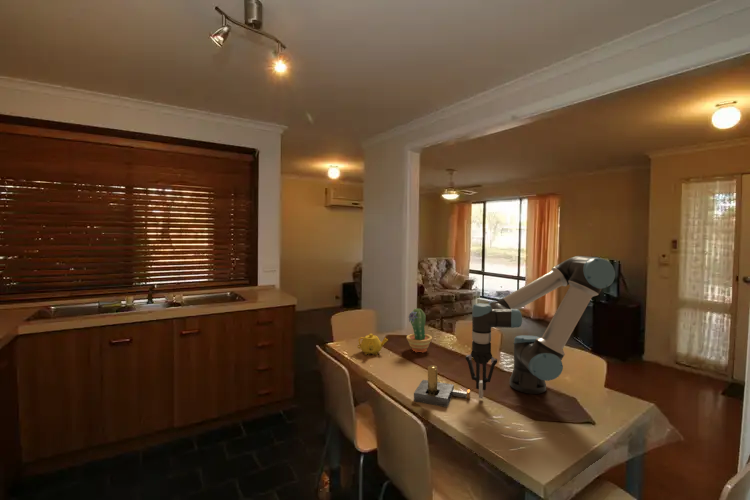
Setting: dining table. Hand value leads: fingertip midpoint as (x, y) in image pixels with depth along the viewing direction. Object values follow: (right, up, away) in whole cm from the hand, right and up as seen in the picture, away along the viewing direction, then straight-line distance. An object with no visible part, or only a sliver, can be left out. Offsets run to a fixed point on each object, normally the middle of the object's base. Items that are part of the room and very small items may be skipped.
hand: (480, 396), depth 145 cm
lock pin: (-10, -1, +5) cm, 11 cm away
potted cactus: (-18, +1, +63) cm, 65 cm away
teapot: (-46, +1, +59) cm, 74 cm away
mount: (-19, -2, +4) cm, 19 cm away
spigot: (-20, -2, +1) cm, 20 cm away
